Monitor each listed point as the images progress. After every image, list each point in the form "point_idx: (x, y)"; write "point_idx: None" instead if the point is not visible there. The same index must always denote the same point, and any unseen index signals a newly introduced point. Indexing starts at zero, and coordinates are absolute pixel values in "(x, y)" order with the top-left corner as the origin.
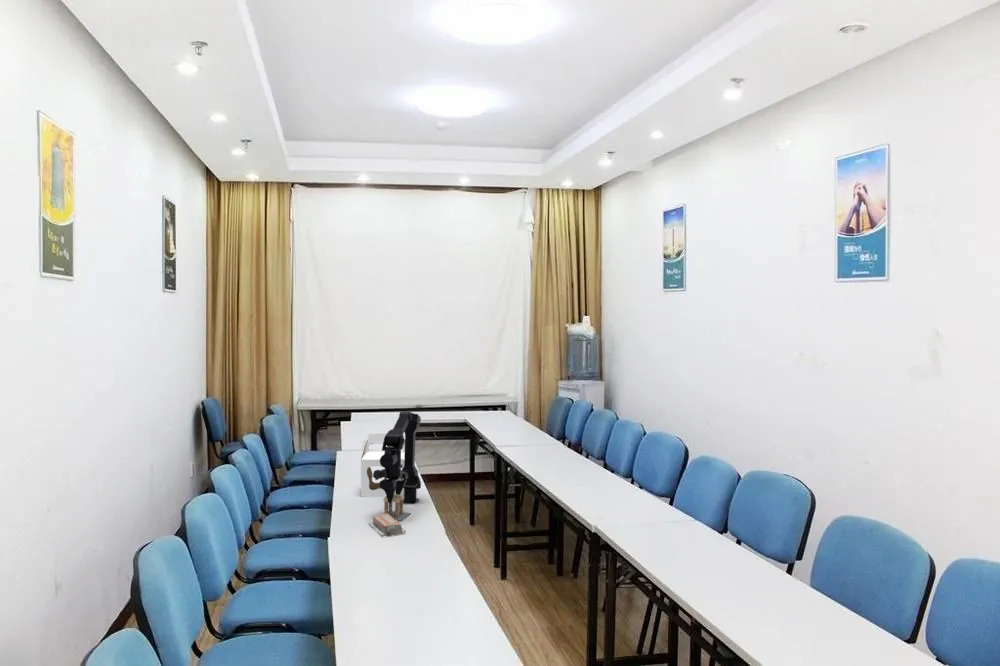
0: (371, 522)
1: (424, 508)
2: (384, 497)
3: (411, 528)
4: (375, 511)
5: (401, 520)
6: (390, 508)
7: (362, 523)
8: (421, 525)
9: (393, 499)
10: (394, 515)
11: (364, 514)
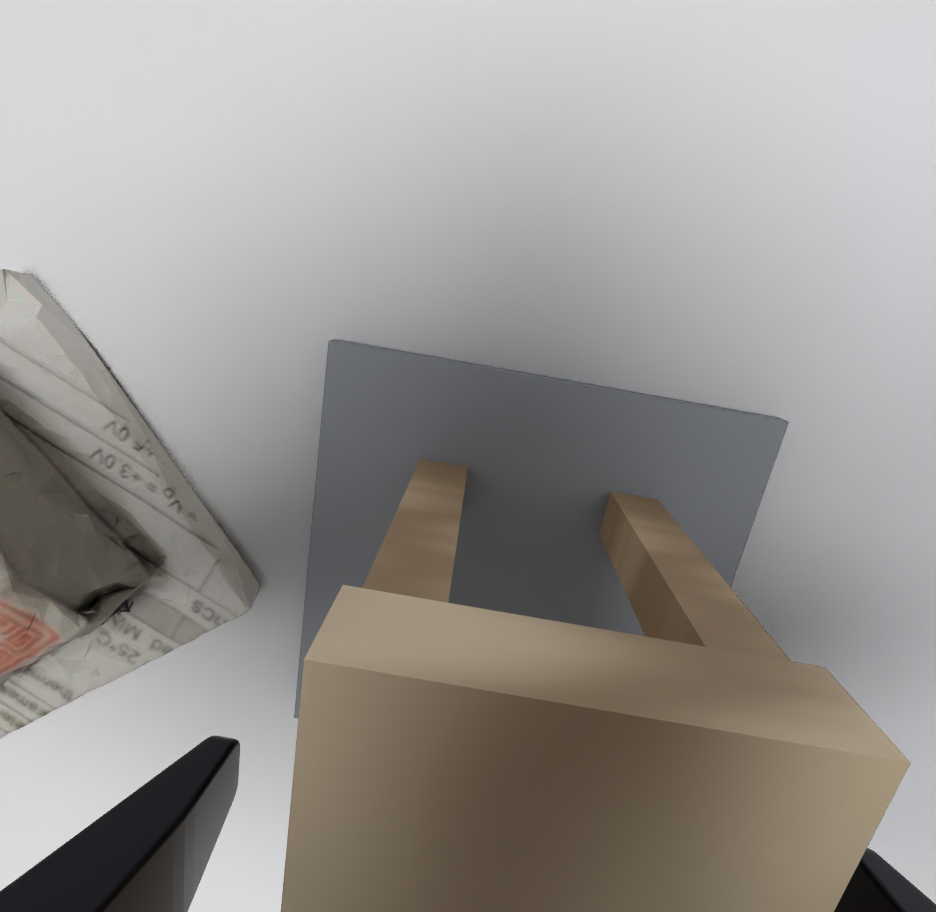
0: (38, 317)
1: (924, 886)
2: (370, 673)
3: (52, 832)
4: (844, 202)
5: (297, 710)
6: (624, 565)
7: (59, 140)
8: (189, 908)
9: (287, 908)
10: (510, 596)
11: (636, 11)
